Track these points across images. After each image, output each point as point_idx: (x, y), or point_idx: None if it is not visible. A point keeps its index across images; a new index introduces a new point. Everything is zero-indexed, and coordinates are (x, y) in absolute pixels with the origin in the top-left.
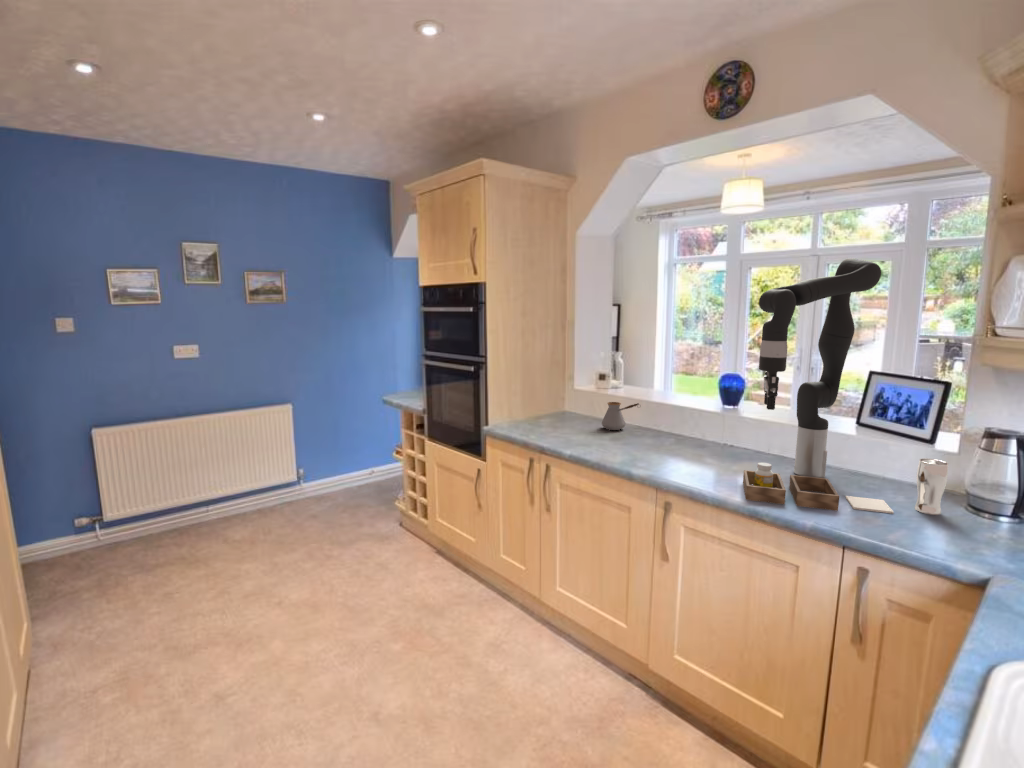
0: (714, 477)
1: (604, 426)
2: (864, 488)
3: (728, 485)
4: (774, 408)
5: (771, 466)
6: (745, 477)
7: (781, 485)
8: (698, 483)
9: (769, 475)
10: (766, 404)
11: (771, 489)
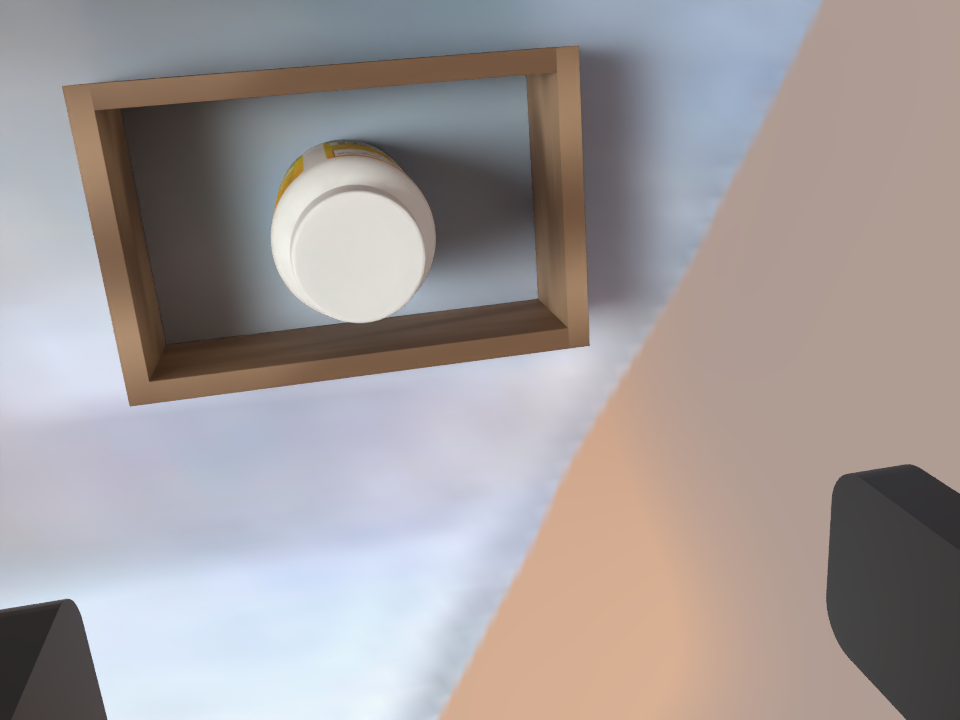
0: (122, 574)
1: None
2: None
3: (278, 456)
4: (910, 472)
5: (363, 189)
6: (365, 373)
7: (457, 77)
8: (342, 639)
9: (419, 191)
10: (104, 717)
11: (580, 160)
